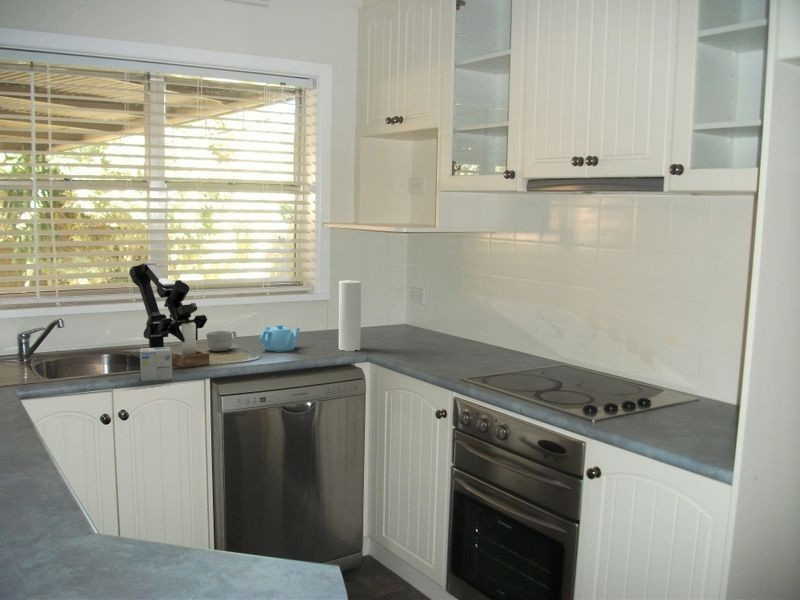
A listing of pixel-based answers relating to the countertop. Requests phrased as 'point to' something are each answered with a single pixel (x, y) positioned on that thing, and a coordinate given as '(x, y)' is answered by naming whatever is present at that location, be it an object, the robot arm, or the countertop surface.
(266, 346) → the teapot
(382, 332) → the countertop surface
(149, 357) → the light bulb box
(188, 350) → the paper roll
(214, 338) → the teacup
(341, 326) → the cylinder container
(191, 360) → the cradle
